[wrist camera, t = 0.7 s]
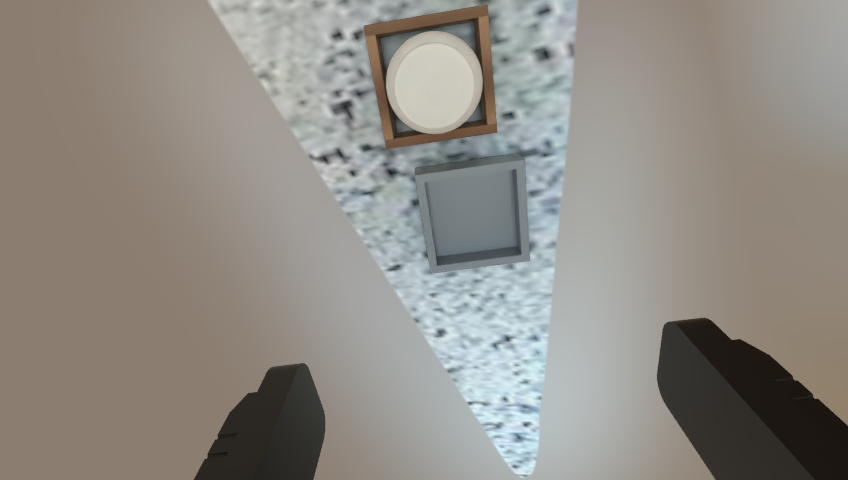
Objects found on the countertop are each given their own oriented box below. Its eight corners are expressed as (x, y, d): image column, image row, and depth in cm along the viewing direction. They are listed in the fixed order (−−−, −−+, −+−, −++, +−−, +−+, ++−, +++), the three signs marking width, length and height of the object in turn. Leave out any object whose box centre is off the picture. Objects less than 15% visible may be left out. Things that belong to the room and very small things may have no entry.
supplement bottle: (486, 66, 28) (513, 68, 19) (445, 133, 30) (452, 163, 21) (419, 20, 27) (415, 0, 18) (381, 93, 29) (360, 107, 20)
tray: (415, 168, 31) (414, 175, 29) (518, 153, 30) (524, 159, 28) (430, 261, 34) (430, 273, 32) (523, 248, 34) (529, 260, 32)
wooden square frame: (369, 28, 27) (363, 25, 25) (482, 9, 27) (487, 4, 24) (389, 142, 30) (386, 149, 28) (491, 126, 30) (497, 132, 27)
